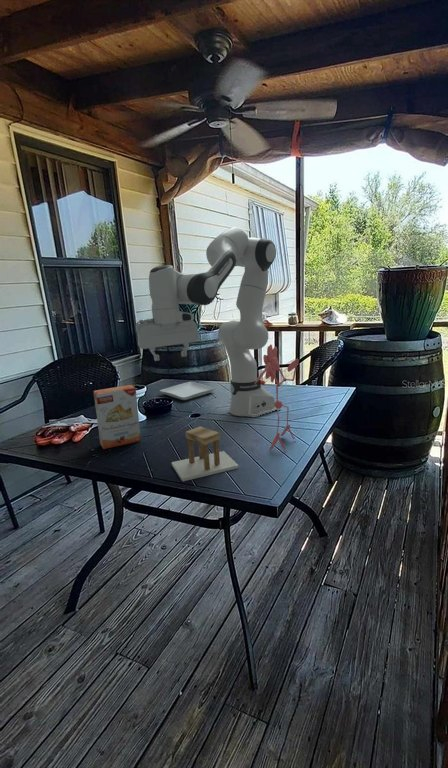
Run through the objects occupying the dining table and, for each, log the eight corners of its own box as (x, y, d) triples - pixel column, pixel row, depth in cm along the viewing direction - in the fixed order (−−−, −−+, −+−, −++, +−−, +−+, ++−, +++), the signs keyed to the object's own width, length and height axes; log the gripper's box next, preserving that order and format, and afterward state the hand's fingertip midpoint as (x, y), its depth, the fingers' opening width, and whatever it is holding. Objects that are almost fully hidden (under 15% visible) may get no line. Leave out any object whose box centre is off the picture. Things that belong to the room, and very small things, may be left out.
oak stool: (221, 464, 125) (219, 432, 123) (206, 471, 121) (204, 438, 119) (202, 456, 132) (200, 426, 129) (188, 462, 128) (185, 431, 125)
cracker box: (103, 450, 143) (95, 394, 138) (100, 444, 149) (92, 390, 143) (141, 441, 149) (135, 387, 144) (137, 436, 155) (131, 383, 149)
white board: (223, 453, 135) (223, 450, 135) (238, 468, 125) (238, 465, 124) (171, 465, 129) (171, 462, 129) (182, 481, 118) (182, 478, 118)
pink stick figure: (305, 433, 148) (303, 338, 140) (279, 462, 127) (274, 352, 118) (267, 428, 156) (262, 338, 147) (236, 455, 135) (228, 351, 126)
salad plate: (184, 403, 193) (183, 396, 192) (158, 396, 208) (158, 389, 208) (216, 393, 207) (216, 387, 206) (191, 387, 222) (190, 381, 221)
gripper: (136, 321, 125) (142, 364, 129) (198, 314, 133) (202, 355, 136) (132, 319, 131) (138, 361, 135) (192, 313, 138) (195, 352, 142)
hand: (170, 358), depth 136 cm, fingers open, 8 cm apart
